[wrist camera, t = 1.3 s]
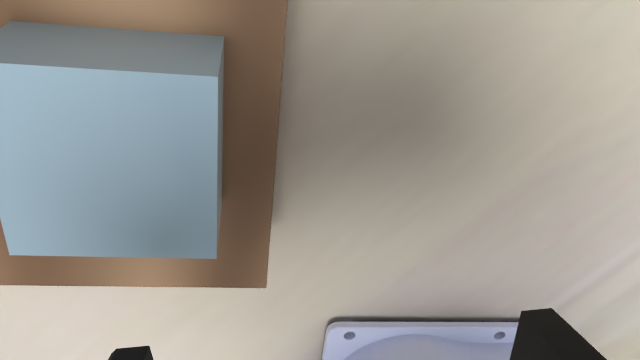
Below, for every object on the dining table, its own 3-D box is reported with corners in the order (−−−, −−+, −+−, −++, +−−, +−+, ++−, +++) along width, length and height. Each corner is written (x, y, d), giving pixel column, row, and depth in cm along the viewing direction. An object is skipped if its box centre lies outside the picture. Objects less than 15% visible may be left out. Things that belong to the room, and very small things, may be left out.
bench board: (288, -128, 15) (295, -115, 12) (265, 225, 21) (266, 288, 18) (-306, -196, 13) (-463, -200, 10) (-135, 215, 19) (-203, 283, 17)
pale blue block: (224, 36, 14) (217, 76, 12) (221, 200, 16) (216, 258, 14) (9, 20, 13) (-41, 60, 11) (43, 195, 16) (9, 254, 14)
